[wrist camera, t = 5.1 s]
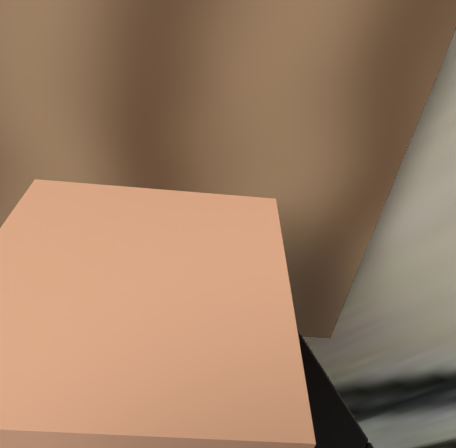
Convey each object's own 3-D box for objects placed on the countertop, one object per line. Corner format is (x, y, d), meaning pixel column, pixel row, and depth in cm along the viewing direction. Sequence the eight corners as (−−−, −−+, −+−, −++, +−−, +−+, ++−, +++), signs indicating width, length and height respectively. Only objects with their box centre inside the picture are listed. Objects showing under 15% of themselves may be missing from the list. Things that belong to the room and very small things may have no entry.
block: (276, 198, 9) (315, 443, 5) (246, 341, 12) (255, 563, 8) (35, 179, 8) (-139, 422, 4) (69, 331, 11) (-15, 555, 7)
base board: (438, -49, 11) (483, -40, 9) (319, 295, 20) (329, 338, 18) (-89, -112, 10) (-163, -117, 8) (25, 275, 19) (1, 318, 17)
